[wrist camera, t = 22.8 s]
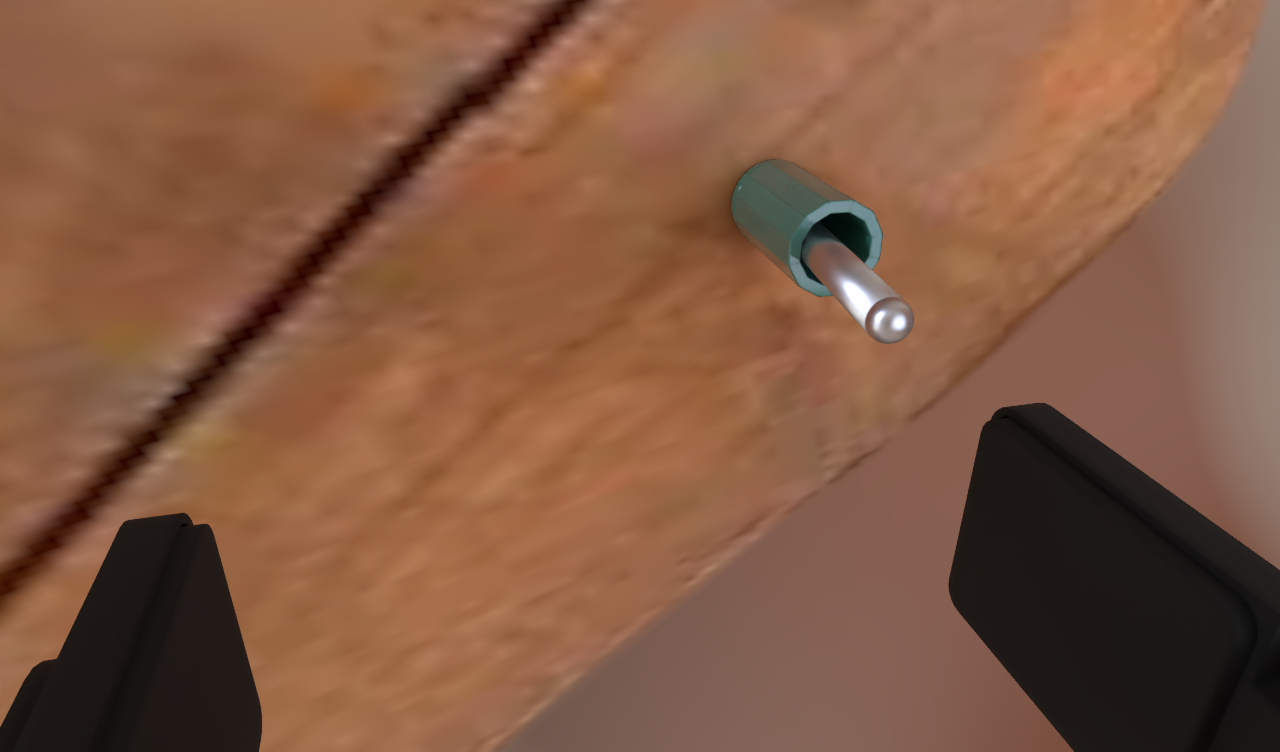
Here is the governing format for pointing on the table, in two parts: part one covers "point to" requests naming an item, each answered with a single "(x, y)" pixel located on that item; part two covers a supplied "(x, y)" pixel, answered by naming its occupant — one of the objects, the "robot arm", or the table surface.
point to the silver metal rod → (856, 286)
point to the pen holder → (800, 218)
